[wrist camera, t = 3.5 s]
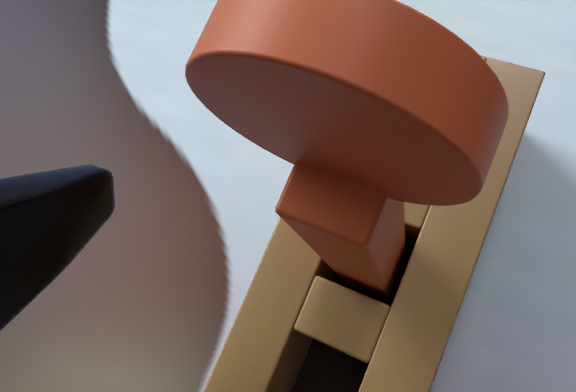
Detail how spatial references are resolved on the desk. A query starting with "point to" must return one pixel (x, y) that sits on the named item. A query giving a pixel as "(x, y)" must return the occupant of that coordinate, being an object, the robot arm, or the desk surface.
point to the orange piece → (353, 118)
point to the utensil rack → (362, 309)
